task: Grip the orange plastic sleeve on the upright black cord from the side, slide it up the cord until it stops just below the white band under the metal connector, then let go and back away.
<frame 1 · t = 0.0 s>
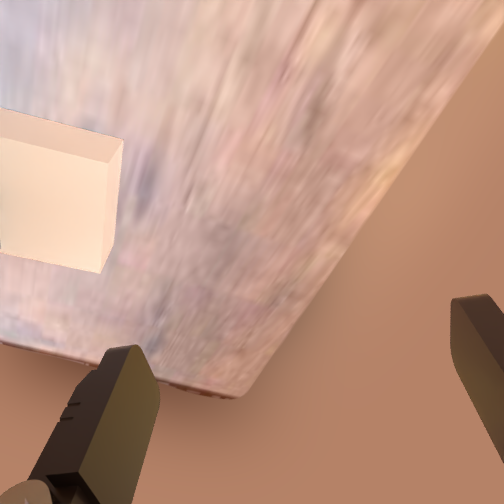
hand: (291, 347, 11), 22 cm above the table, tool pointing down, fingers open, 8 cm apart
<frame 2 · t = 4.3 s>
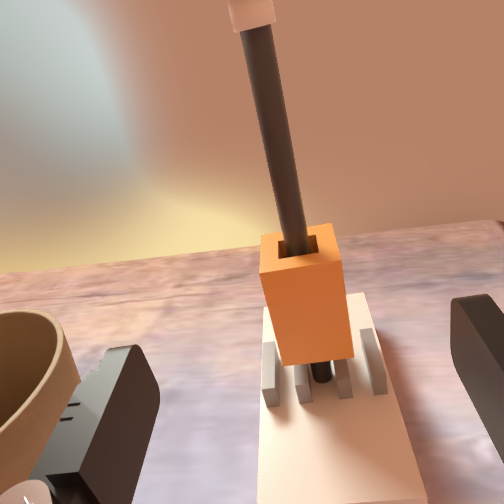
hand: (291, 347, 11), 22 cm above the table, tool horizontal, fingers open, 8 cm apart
sleeve: (307, 295, 29), point 12 cm above the table, slide at 0.0 cm
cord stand: (329, 409, 35), on the table
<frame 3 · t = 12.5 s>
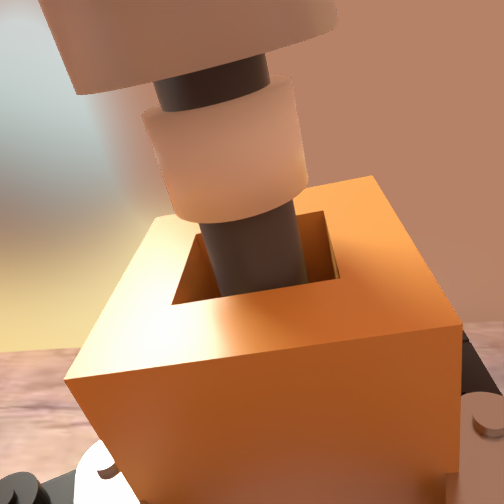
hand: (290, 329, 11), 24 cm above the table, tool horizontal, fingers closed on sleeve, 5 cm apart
sleeve: (295, 407, 9), point 24 cm above the table, slide at 11.8 cm, touching gripper
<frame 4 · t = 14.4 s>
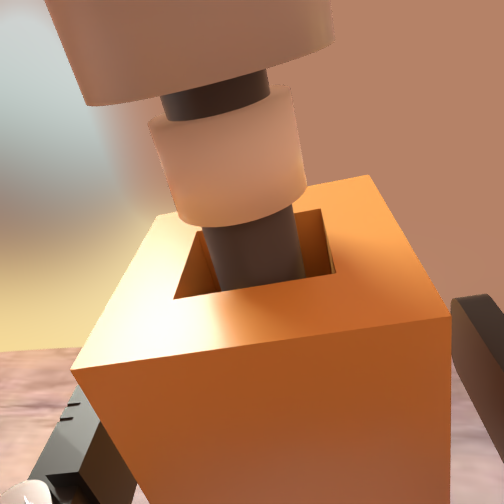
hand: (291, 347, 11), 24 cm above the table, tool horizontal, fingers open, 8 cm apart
sleeve: (293, 400, 9), point 24 cm above the table, slide at 12.0 cm
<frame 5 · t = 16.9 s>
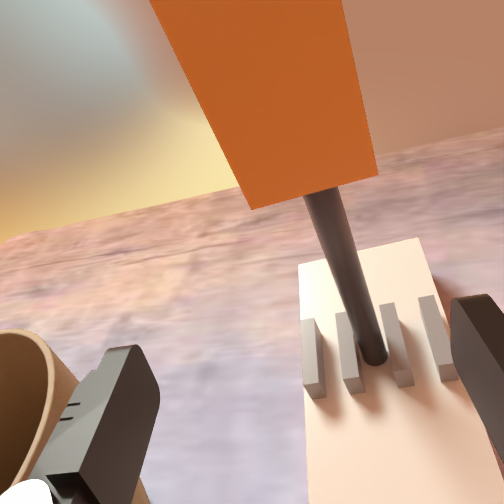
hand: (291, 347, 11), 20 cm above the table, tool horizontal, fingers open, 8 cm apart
sleeve: (278, 68, 15), point 24 cm above the table, slide at 12.0 cm
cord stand: (384, 384, 30), on the table
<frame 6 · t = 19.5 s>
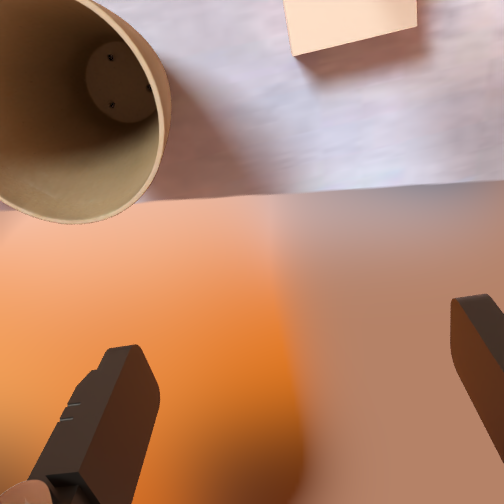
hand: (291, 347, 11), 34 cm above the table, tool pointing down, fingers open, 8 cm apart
plant pot: (124, 81, 40), on the table
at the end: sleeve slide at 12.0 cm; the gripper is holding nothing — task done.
